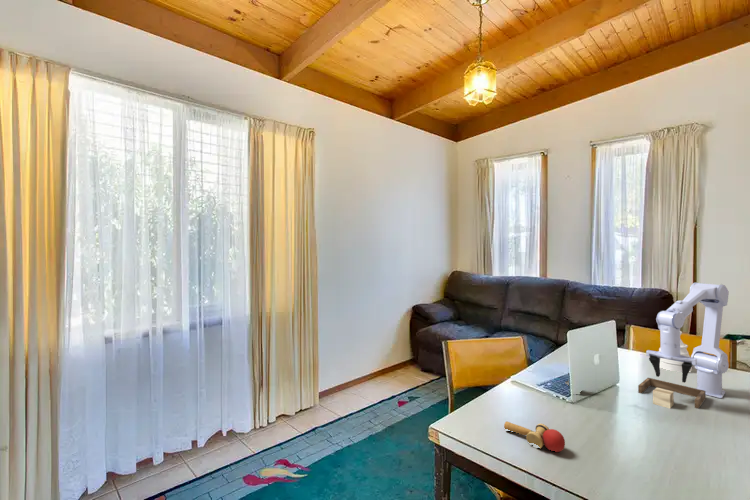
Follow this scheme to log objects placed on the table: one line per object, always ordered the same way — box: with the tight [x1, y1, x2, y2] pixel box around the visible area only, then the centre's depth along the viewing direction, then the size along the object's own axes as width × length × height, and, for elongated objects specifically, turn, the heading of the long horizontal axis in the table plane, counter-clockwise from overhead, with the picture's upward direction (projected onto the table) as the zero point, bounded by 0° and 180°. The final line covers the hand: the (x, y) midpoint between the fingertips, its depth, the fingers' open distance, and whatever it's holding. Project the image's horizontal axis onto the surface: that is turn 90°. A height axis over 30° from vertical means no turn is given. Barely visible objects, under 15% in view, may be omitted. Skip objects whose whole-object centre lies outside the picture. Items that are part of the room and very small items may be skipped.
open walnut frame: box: [637, 377, 707, 409], centre depth 137 cm, size 13×18×3 cm
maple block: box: [652, 387, 675, 409], centre depth 130 cm, size 5×5×5 cm
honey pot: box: [658, 330, 693, 373], centre depth 166 cm, size 13×13×18 cm
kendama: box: [503, 421, 566, 453], centre depth 106 cm, size 8×6×18 cm
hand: (670, 378), depth 131 cm, fingers open, 7 cm apart
